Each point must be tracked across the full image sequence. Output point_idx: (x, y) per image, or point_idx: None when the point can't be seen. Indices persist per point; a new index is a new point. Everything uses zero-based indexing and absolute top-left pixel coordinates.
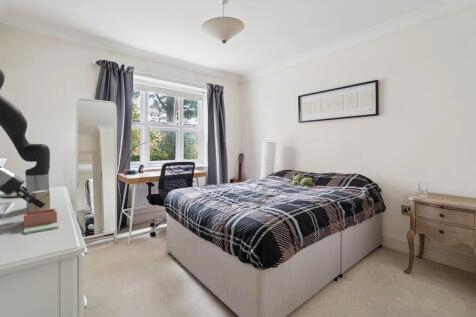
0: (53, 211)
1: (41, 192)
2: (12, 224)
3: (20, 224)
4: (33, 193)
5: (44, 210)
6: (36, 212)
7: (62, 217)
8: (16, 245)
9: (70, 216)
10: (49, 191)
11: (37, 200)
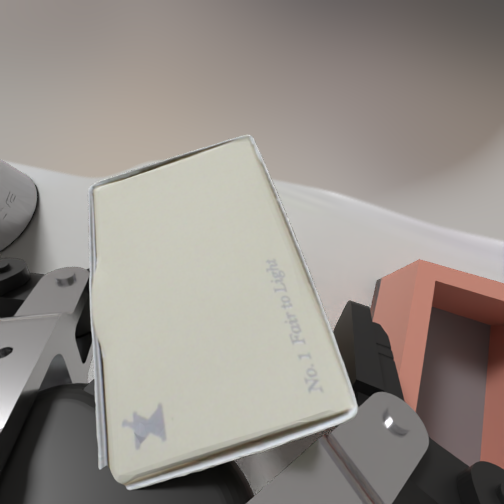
0: (468, 295)
1: (312, 280)
2: (251, 483)
3: (301, 453)
4: (279, 436)
5: (425, 343)
6: (408, 403)
7: (346, 236)
8: None
9: (361, 204)
10: (257, 150)
11: (378, 383)
